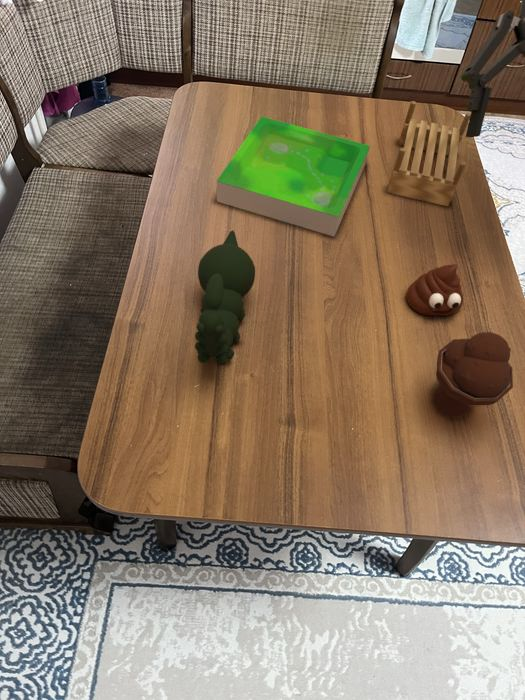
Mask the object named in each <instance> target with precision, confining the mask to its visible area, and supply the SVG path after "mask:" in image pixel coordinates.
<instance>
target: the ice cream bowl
mask: <svg viewBox="0 0 525 700" xmlns="http://www.w3.org/2000/svg"><path fill="white" fill-rule="evenodd" d="M511 349H512V348H511V347H510V346H509V343H508V341H507V340H506V338H504V337H503V336H501V335H500V334H498V333H493V332H491V331H489V332H488V331H486V332H485V331H484V332H483V331H482V332H479V333H476V334H475V335H473V336H472V337H470V338H456V339H455V338H453V339H452V340H451V341H450V342H448V343H447V344H446V345H444V346H443V347H442V348H441V349H439V350H438V353H437V359H436V372H435V373H436V376H435V377H436V380H437V382H438V383H439V385H440V386H441V388H440V389H439V390H437V391H436V392H435V397H434V402H435V404H436V406H437V407H438V409H439V411H440V412H442V413H444V414H445V415H448V416H450V417H455V418H456V417H463V416H465V414H467V413H468V412H469V410H470V407H473V406H475V407H477V406H478V407H479V406H492V405H494V404H497V402H499V401H501V399H502V398H503V397H505V396H506V395H507V394H508V393H509V392H510V391H512V389H513V388H514V380H513V379H514V378H513V377H514V376H513V367H512V366H511V364H510V363H509V361H510V359H511V351H512V350H511Z"/></svg>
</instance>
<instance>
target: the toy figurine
mask: <svg viewBox="0 0 525 700" xmlns="http://www.w3.org/2000/svg"><path fill="white" fill-rule="evenodd" d="M253 261H254V260H253V259H252V257H251V256H250V254H249V253H248V252H247V251H246V250H245V249H243V248H241V247H240V246H239V244H238V240H237V236H236V232H235V230H230V231H229V233H228V234H227V236H226V238H225V240H224V242H223V243H221V244H218V245H215V246H213V247H211V248H210V249H208V250H207V251H206V252H205V253H204V254H203V256H202V257H201V259H200V261H199V263H198V267H197V268H198V269H197V278H198V282H199V285H200V287H201V289H202V290H203V292H204V293H203V294H202V295H203V296H202V298H201V308H200V315H199V318H198V322H197V324H196V330H197V331H196V332H195V333H194V338H195V340H196V341H198V342H196V343H195V345H194V348H195V350H196V353H197V361H199V362H200V363H201V364H206V363H207V362H209V360H210V358H211V359H213V358H214V359H215V362H216V364H218V365H220V366H223V365H225V364H226V363H227V362H228V361H230V360H232V359H233V357H234V356H235V351H234V350H233V349H232V345H233V344H237V343H238V342H239V341H240V339H241V335H240V332H239V329H240V322H241V321H242V320H244V318H245V317H246V311H245V309H244V299H243V298H244V297H245V296H247V295H248V293H249V292H250V291H251V289H252V287H253V285H254V283H255V281H256V280H255V279H256V266H255V264H254V262H253Z"/></svg>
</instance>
